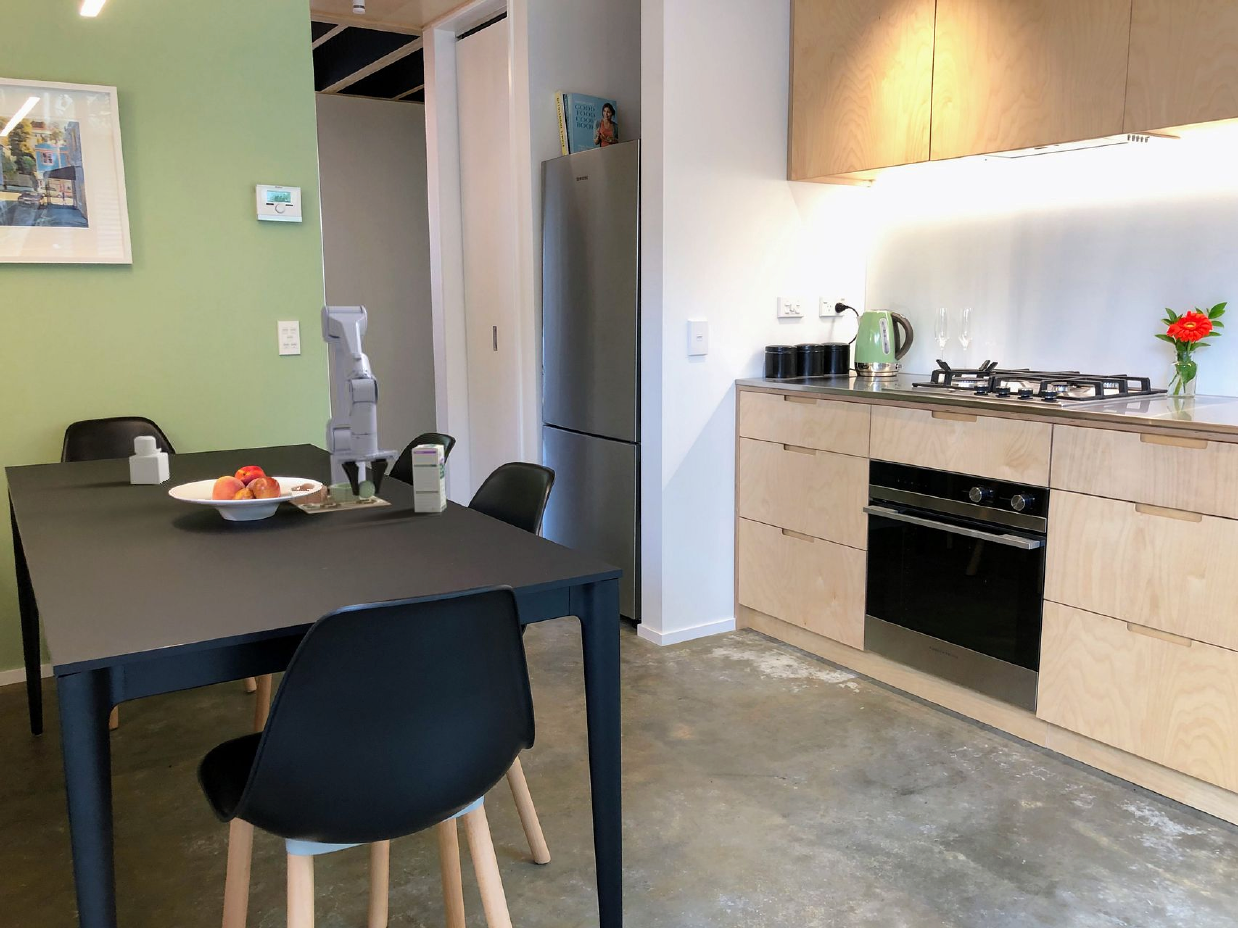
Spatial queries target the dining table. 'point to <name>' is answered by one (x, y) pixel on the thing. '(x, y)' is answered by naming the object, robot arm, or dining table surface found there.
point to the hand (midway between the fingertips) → (366, 494)
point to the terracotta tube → (311, 496)
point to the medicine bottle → (148, 461)
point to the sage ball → (366, 489)
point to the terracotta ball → (307, 486)
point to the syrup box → (429, 478)
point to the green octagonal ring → (343, 493)
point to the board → (340, 505)
